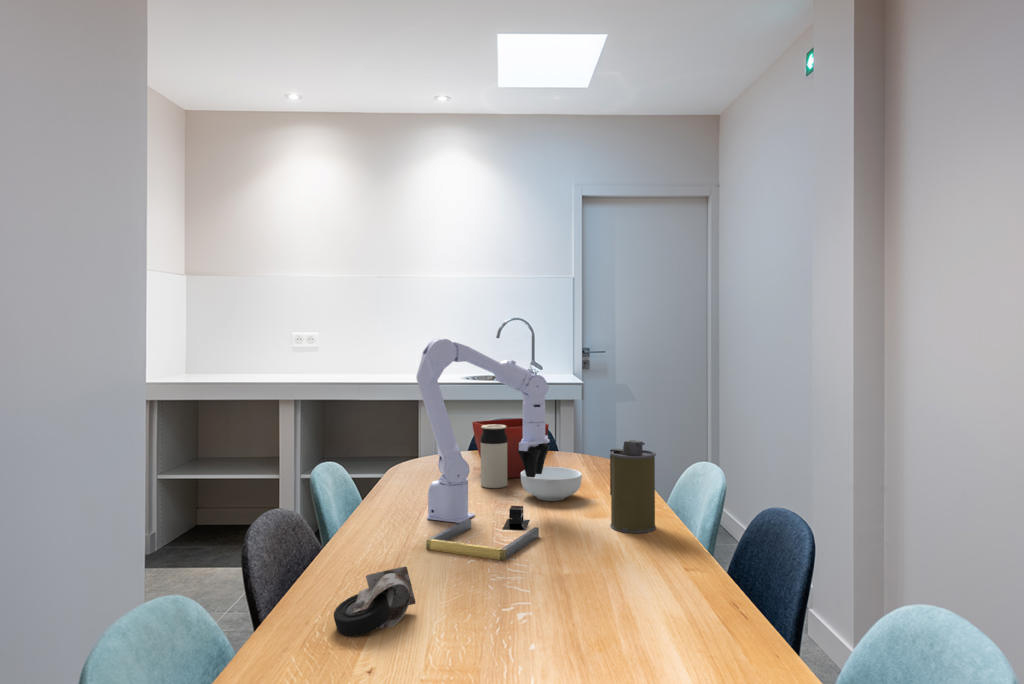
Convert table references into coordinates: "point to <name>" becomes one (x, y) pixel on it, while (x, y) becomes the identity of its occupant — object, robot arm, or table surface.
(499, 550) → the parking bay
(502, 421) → the plant pot
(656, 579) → the table surface
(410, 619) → the table surface
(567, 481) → the cereal bowl
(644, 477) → the canister
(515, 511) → the build plate
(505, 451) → the travel mug
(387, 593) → the caster wheel
